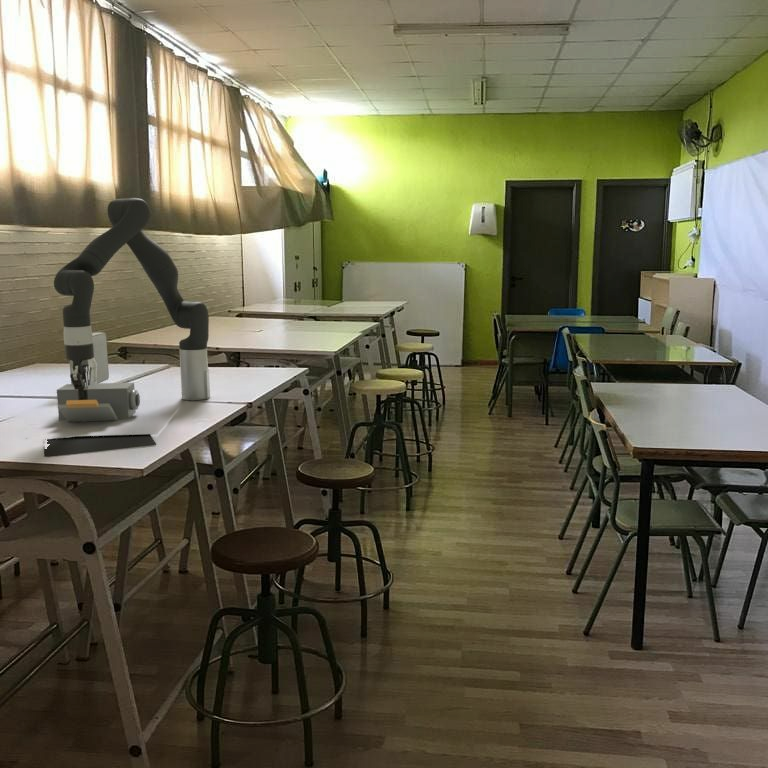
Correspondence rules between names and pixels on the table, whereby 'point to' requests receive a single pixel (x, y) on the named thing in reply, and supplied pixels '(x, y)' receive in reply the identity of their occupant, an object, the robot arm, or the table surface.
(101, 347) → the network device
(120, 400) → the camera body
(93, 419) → the side door
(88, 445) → the tablet
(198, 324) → the robot arm
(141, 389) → the table surface
